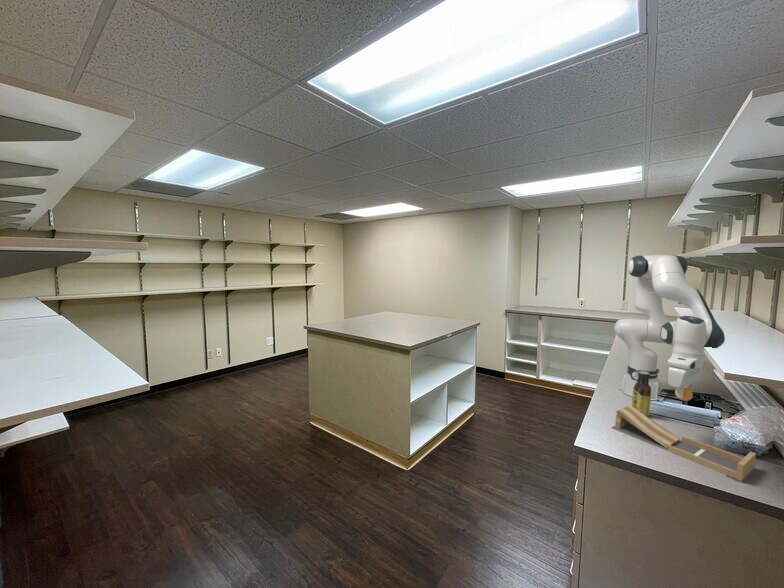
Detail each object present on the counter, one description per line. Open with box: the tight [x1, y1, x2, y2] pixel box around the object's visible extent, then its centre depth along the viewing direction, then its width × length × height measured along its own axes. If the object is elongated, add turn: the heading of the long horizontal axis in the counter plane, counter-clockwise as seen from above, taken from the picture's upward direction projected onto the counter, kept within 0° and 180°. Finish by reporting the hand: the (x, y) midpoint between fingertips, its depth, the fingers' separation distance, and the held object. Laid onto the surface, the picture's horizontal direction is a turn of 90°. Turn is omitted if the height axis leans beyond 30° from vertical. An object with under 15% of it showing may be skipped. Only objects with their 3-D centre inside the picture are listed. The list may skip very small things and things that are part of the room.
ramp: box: [614, 404, 681, 448], centre depth 124 cm, size 10×18×7 cm, turn 30°
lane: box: [610, 424, 757, 484], centre depth 116 cm, size 13×37×5 cm, turn 30°
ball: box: [674, 388, 694, 402], centre depth 121 cm, size 5×5×5 cm
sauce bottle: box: [631, 371, 652, 418], centre depth 140 cm, size 6×6×20 cm
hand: (683, 395), depth 121 cm, fingers closed on ball, 5 cm apart
